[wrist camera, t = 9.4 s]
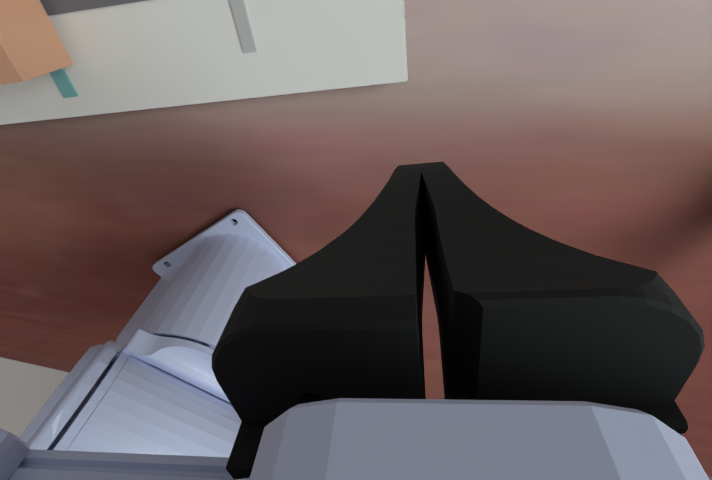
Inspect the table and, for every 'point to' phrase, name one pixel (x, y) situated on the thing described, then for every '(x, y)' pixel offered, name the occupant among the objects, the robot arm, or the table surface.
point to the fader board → (208, 53)
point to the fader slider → (28, 42)
